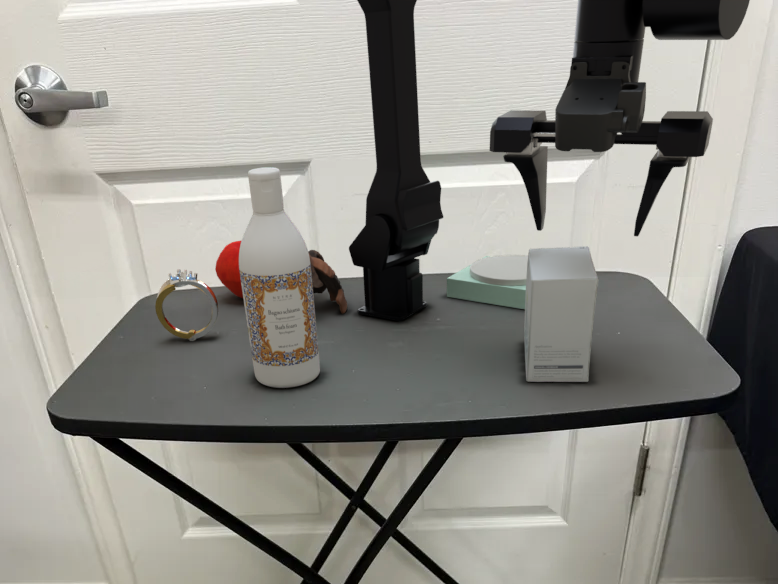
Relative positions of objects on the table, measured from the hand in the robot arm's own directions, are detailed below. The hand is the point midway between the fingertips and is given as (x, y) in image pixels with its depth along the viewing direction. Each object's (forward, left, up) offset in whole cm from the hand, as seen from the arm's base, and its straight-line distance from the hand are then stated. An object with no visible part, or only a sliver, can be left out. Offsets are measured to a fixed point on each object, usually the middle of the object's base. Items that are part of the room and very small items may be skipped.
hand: (587, 232), depth 74 cm
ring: (-41, -15, -13) cm, 46 cm away
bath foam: (-24, -18, -13) cm, 33 cm away
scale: (-15, +17, -13) cm, 26 cm away
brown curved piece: (-35, 0, -13) cm, 38 cm away
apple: (-45, 0, -13) cm, 47 cm away
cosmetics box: (-1, -2, -13) cm, 13 cm away
